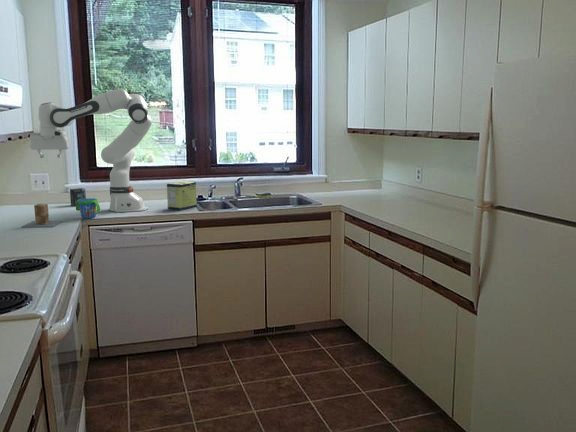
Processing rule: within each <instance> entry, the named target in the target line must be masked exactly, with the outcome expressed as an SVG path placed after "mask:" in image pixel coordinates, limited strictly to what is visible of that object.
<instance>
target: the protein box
mask: <svg viewBox="0 0 576 432" xmlns="http://www.w3.org/2000/svg"><path fill="white" fill-rule="evenodd" d="M166 192H167V194H166V195H167V196H166V198H167V199H166V200H167V210H175V211H184V210H188V209H193V208H197V205H198V204H197V182H196V181H183V180H181V181H176V182H170V183H166Z"/></svg>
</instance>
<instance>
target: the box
mask: <svg viewBox="0 0 576 432" xmlns="http://www.w3.org/2000/svg"><path fill="white" fill-rule="evenodd" d="M69 196H70V206H72V207H74V208H76V203H77V200H80V199H87V195H86V188H82V187H80V188H79V187H77V188H70V189H69Z"/></svg>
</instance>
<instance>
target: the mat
mask: <svg viewBox="0 0 576 432" xmlns="http://www.w3.org/2000/svg"><path fill="white" fill-rule="evenodd" d="M62 223H63V220H49V223H47V224H41V225H36V221H35V220H33V221H30V222H27V223H25V224H23V225H21V228H22V229H23V228H25V229H26V228H27V229H28V228H54V227H57V226H58V225H60V224H62Z"/></svg>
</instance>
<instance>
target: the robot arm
mask: <svg viewBox="0 0 576 432" xmlns="http://www.w3.org/2000/svg"><path fill="white" fill-rule="evenodd" d="M147 105H148V104H147V102H146V99H145V97H144V96H143V95H142V93H140V92H137V91H128V92H127V90H125V89H124V88H118V89H117V88H116V89H111V90H108V91H105V92H103V93H100V94H98V95H96V96H94V97H92V98H91V99H89V100H88V101H86V102H84V103H80V104H78V105H74V106H72V107H68V108H63V107H61V106H59V105H57V104H55V103H54V102H52V101H51V102H44V103H41V104H40V105H39V106H38V121H39V132H32V133H30V135H29V140H30V147H29V148H30V149H31V150H34V151H35V150H37V153H38V155H39V158H40V159H45V154H43V153H42V151H43V150H48V151H49V150H50V151H51V150H58V152H59V153H58V154H57V158H58V159H59V158H61V159H62V154H63V151H64V150H69V149H70V142H69V138H68V137H67V132H66V131H64V130H61V129H58V128H65V127H69V126H71V125H73V123H74V122H75V120H76V119H79V118H83V117H86V116H89V115H103V114H104V115H105V114H109V113H113V112H115V111H118V110H122V109H123V110H127V112H128V116H129V118H130V119H131V120H130V122H129V123H128V125H127V126H126V127H125V128H124V130H123V131H122V132H121V133H120V134H119V135H118V136H117V137H116V138H114V140H113V141H112V142H110V143H109V144H108V145H107V146H105V147H104V148H102V150H101V152H100V157H101V159H102V161H103V162H104V163H106V164H110V165H112V169H111V170H110V173H109V196H110V202H109V203H110V204H109V208H108V210H109V211H110V212H115V213H122V212H123V213H124V212H127V213H128V212H143V211H146V210H148V206H147V205H145V203H144V199H143V197H141V196H139V195H138V194H137V193H136V192H134V186H131V185H130V184H131V183H130V170H131V164H132V161H133V159H134V157H135V155H136V154H135V153H136V152H135V149H134V148H136V147H137V146H138V145H139V144H140V143H141V141H142V140H143V139H144V137H145V136H146V135H147V133H148V132H149V131H150V129H151V126H152V124H153V120H152V117H151V116H150V115H149V110H148V106H147Z"/></svg>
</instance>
